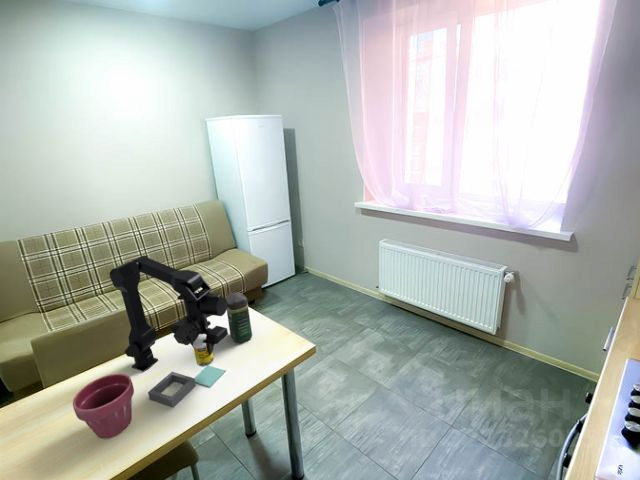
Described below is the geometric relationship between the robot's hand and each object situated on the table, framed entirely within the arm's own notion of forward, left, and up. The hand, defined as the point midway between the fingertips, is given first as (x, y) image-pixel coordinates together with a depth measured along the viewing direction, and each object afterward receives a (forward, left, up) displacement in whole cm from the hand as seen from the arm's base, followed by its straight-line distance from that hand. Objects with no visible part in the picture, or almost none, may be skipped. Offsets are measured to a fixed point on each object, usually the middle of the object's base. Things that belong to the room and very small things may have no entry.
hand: (203, 351), depth 112 cm
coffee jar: (-3, +23, -10) cm, 25 cm away
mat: (0, 0, -10) cm, 10 cm away
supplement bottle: (0, 0, -4) cm, 4 cm away
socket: (-6, -10, -10) cm, 15 cm away
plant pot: (-13, -26, -10) cm, 31 cm away
